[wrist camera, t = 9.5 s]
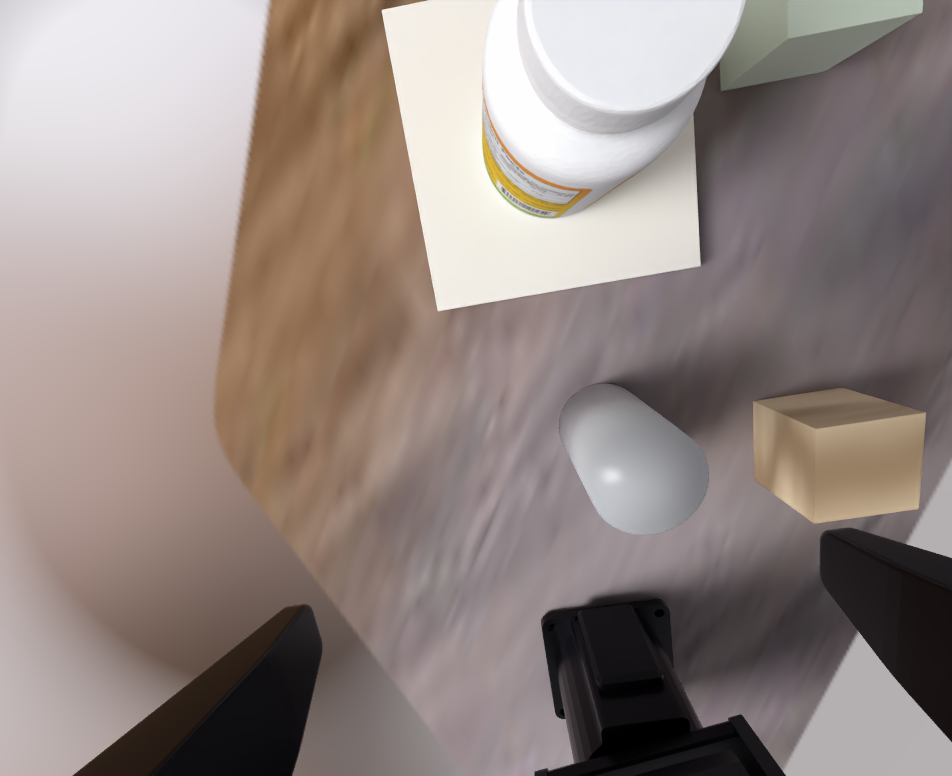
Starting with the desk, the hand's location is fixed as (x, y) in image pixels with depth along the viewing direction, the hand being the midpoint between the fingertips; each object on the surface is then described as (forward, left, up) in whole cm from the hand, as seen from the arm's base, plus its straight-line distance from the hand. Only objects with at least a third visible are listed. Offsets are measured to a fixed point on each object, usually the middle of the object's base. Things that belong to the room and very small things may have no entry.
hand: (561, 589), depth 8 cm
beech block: (-4, -13, -13) cm, 19 cm away
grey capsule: (-2, -4, -13) cm, 14 cm away
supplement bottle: (+10, -3, -12) cm, 16 cm away
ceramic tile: (+10, -3, -13) cm, 17 cm away
